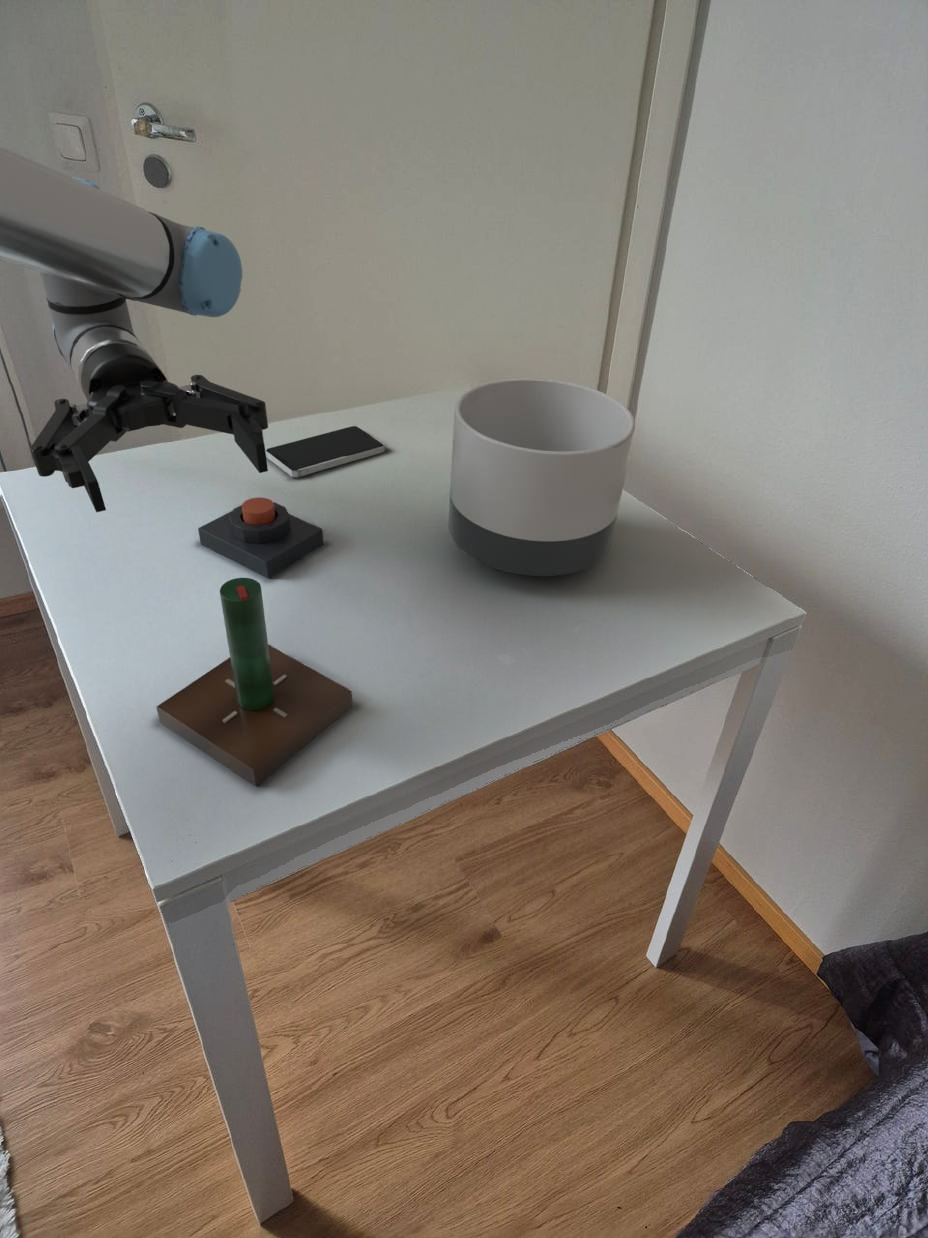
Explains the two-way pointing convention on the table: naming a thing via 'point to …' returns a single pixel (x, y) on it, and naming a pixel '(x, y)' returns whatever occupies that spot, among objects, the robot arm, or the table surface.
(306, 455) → the smartphone
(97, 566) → the table surface
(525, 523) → the planter
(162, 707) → the dial base
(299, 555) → the button box
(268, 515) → the button
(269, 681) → the dial knob
